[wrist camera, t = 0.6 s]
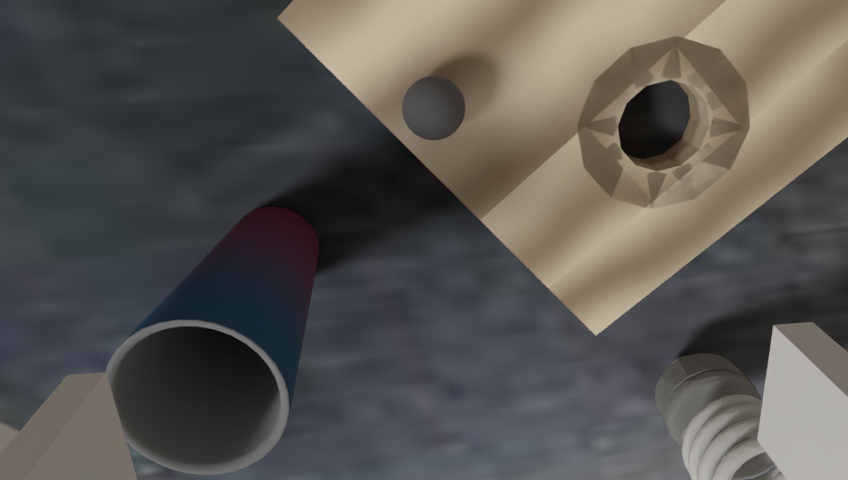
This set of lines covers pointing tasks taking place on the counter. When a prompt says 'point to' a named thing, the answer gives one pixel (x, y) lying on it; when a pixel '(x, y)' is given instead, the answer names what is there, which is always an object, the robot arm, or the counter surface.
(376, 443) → the counter surface
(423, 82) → the black rubber ball
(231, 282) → the cup
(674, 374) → the light bulb
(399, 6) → the board
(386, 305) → the counter surface
